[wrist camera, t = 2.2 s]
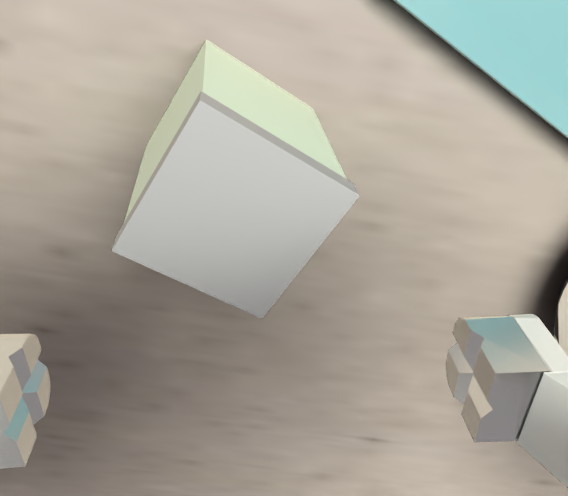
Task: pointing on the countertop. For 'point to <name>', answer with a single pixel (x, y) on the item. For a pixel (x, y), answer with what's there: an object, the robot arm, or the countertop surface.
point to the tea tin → (234, 186)
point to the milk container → (562, 319)
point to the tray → (509, 46)
